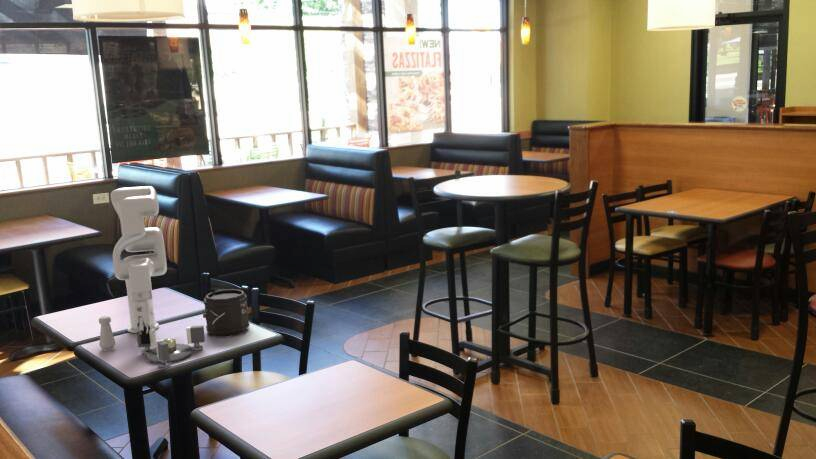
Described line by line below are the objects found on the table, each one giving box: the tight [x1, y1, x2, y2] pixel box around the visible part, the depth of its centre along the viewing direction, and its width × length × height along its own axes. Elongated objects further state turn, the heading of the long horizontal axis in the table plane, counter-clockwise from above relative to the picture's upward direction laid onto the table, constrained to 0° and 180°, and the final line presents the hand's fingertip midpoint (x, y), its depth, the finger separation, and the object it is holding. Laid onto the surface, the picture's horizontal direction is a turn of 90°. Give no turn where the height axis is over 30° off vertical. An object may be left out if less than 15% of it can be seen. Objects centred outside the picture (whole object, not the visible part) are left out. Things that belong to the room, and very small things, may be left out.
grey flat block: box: [136, 329, 157, 351], centre depth 278 cm, size 2×6×8 cm, turn 97°
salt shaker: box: [98, 315, 116, 352], centre depth 285 cm, size 6×6×13 cm
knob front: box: [155, 338, 170, 364], centre depth 264 cm, size 2×6×8 cm, turn 36°
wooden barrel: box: [202, 288, 251, 338], centre depth 301 cm, size 18×18×16 cm
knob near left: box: [185, 324, 206, 347], centre depth 281 cm, size 2×6×8 cm, turn 97°
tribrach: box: [141, 337, 204, 369], centre depth 272 cm, size 21×23×7 cm
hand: (146, 341), depth 279 cm, fingers closed on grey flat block, 2 cm apart
